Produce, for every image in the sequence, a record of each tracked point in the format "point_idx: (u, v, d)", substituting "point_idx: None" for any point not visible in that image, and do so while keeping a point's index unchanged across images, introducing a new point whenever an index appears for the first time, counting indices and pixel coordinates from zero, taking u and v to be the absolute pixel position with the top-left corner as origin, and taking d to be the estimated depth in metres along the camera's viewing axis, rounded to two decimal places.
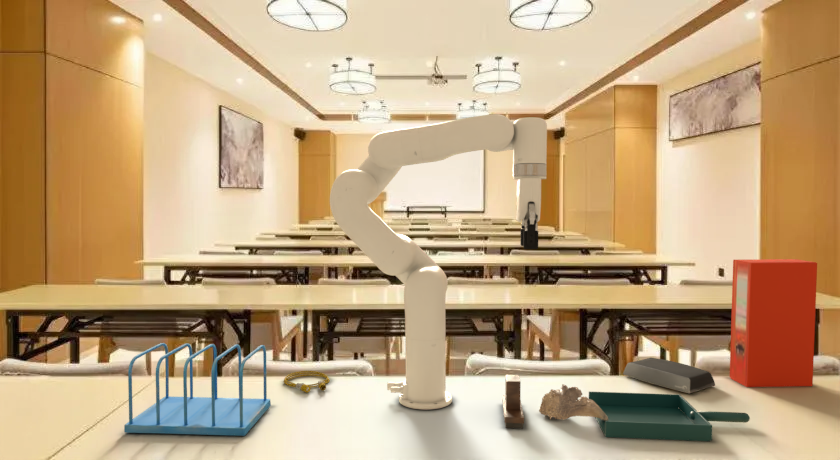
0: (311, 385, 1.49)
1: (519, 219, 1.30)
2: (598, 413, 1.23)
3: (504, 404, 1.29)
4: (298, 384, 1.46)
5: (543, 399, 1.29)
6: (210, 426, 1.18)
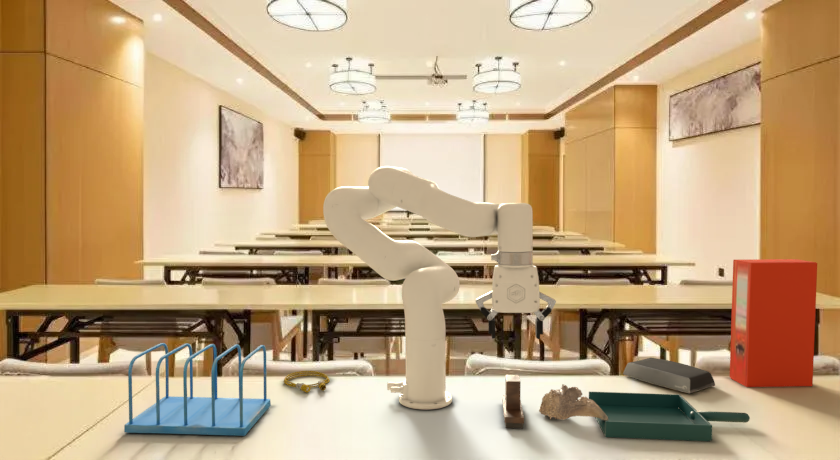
0: (311, 385, 1.49)
1: (537, 309, 1.25)
2: (598, 413, 1.23)
3: (504, 404, 1.29)
4: (298, 384, 1.46)
5: (543, 399, 1.29)
6: (210, 426, 1.18)
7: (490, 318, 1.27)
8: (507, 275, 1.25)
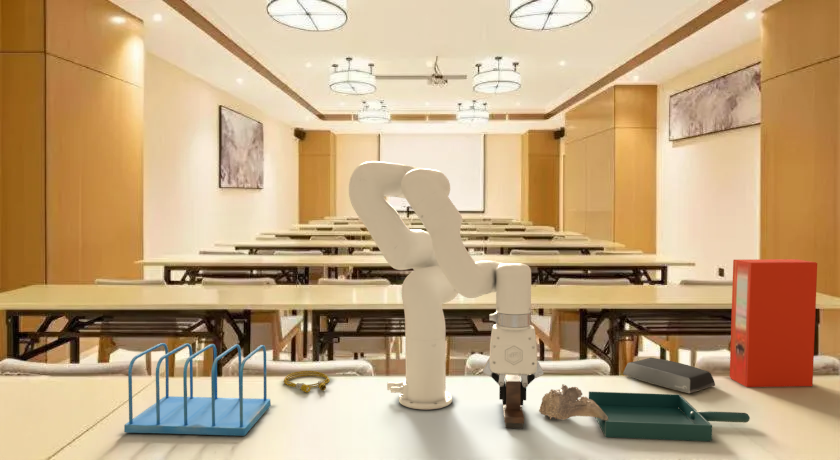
0: (311, 385, 1.49)
1: (534, 371, 1.25)
2: (598, 413, 1.23)
3: None
4: (298, 384, 1.46)
5: (543, 399, 1.29)
6: (210, 426, 1.18)
7: (501, 384, 1.27)
8: (505, 336, 1.25)
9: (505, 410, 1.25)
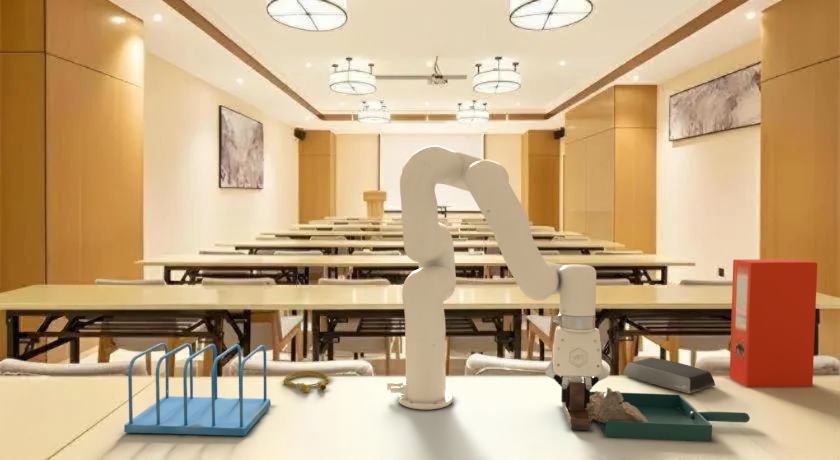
0: (311, 385, 1.49)
1: (599, 374, 1.24)
2: (637, 421, 1.19)
3: None
4: (298, 384, 1.46)
5: None
6: (210, 426, 1.18)
7: (564, 387, 1.26)
8: (570, 338, 1.24)
9: (569, 411, 1.24)
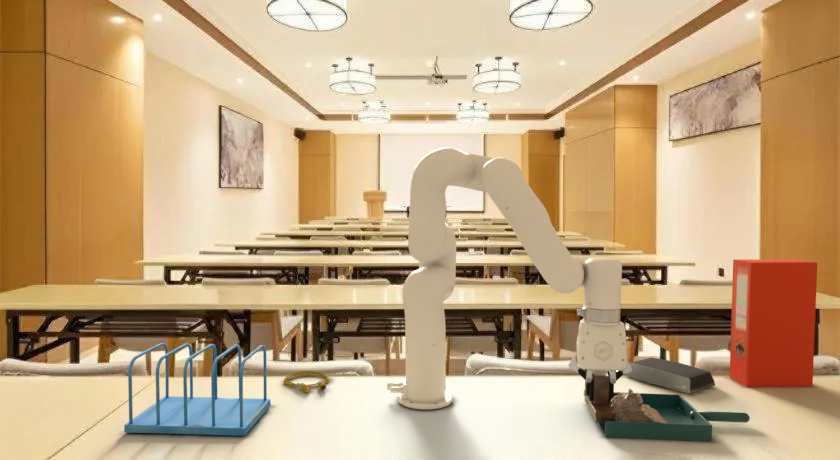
0: (311, 385, 1.49)
1: (624, 368, 1.23)
2: None
3: None
4: (298, 384, 1.46)
5: (611, 400, 1.28)
6: (210, 426, 1.18)
7: (588, 380, 1.25)
8: (595, 331, 1.23)
9: (593, 405, 1.24)
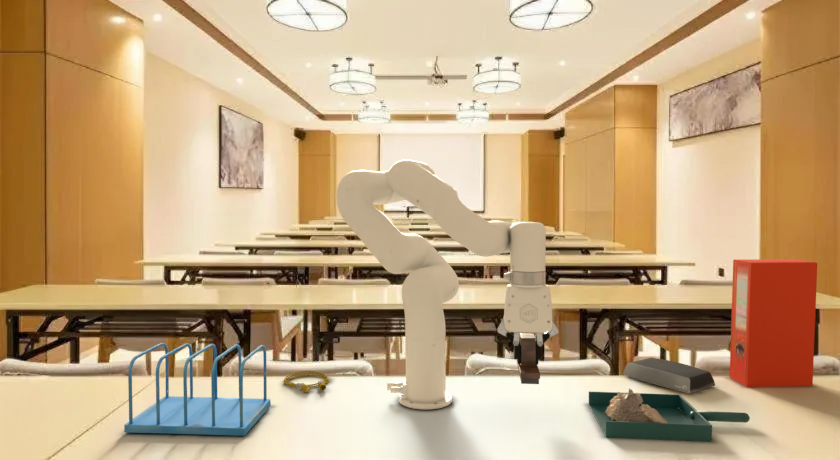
0: (311, 385, 1.49)
1: (549, 330, 1.24)
2: None
3: None
4: (298, 384, 1.46)
5: (611, 401, 1.28)
6: (210, 426, 1.18)
7: (516, 343, 1.26)
8: (520, 294, 1.24)
9: (520, 367, 1.25)
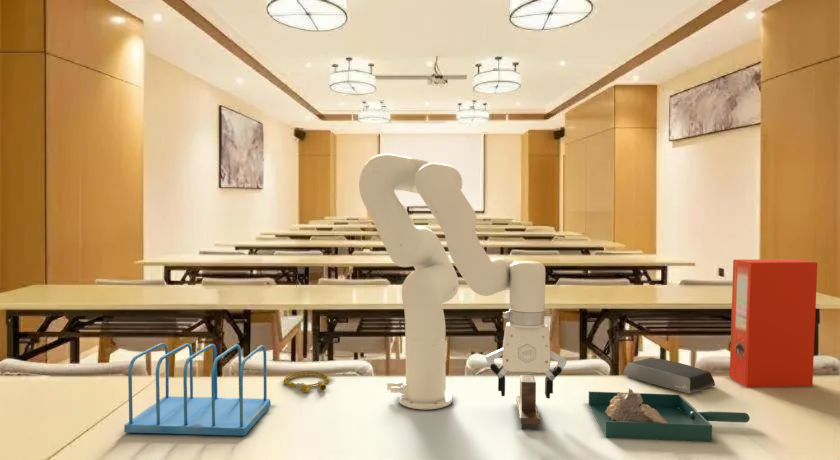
0: (311, 385, 1.49)
1: (547, 370, 1.25)
2: None
3: (519, 405, 1.29)
4: (298, 384, 1.46)
5: (611, 401, 1.28)
6: (210, 426, 1.18)
7: (500, 376, 1.27)
8: (519, 334, 1.25)
9: (520, 411, 1.25)
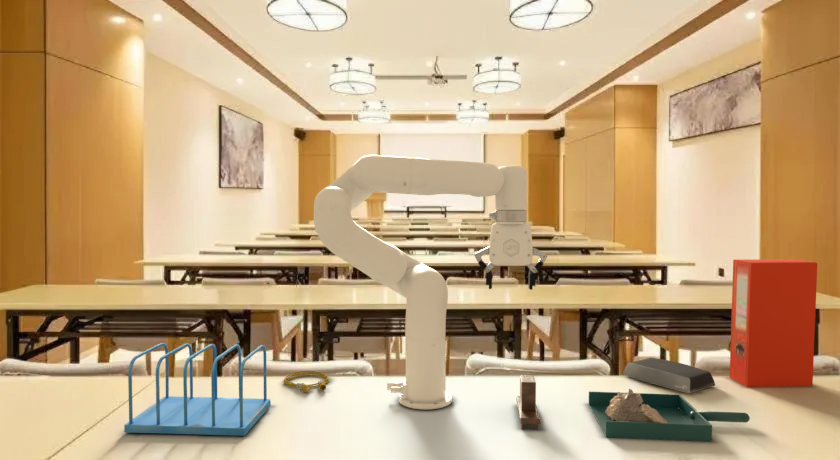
0: (311, 385, 1.49)
1: (530, 262, 1.38)
2: None
3: (519, 405, 1.29)
4: (298, 384, 1.46)
5: (611, 401, 1.28)
6: (210, 426, 1.18)
7: (487, 270, 1.40)
8: (503, 230, 1.38)
9: (520, 411, 1.25)
